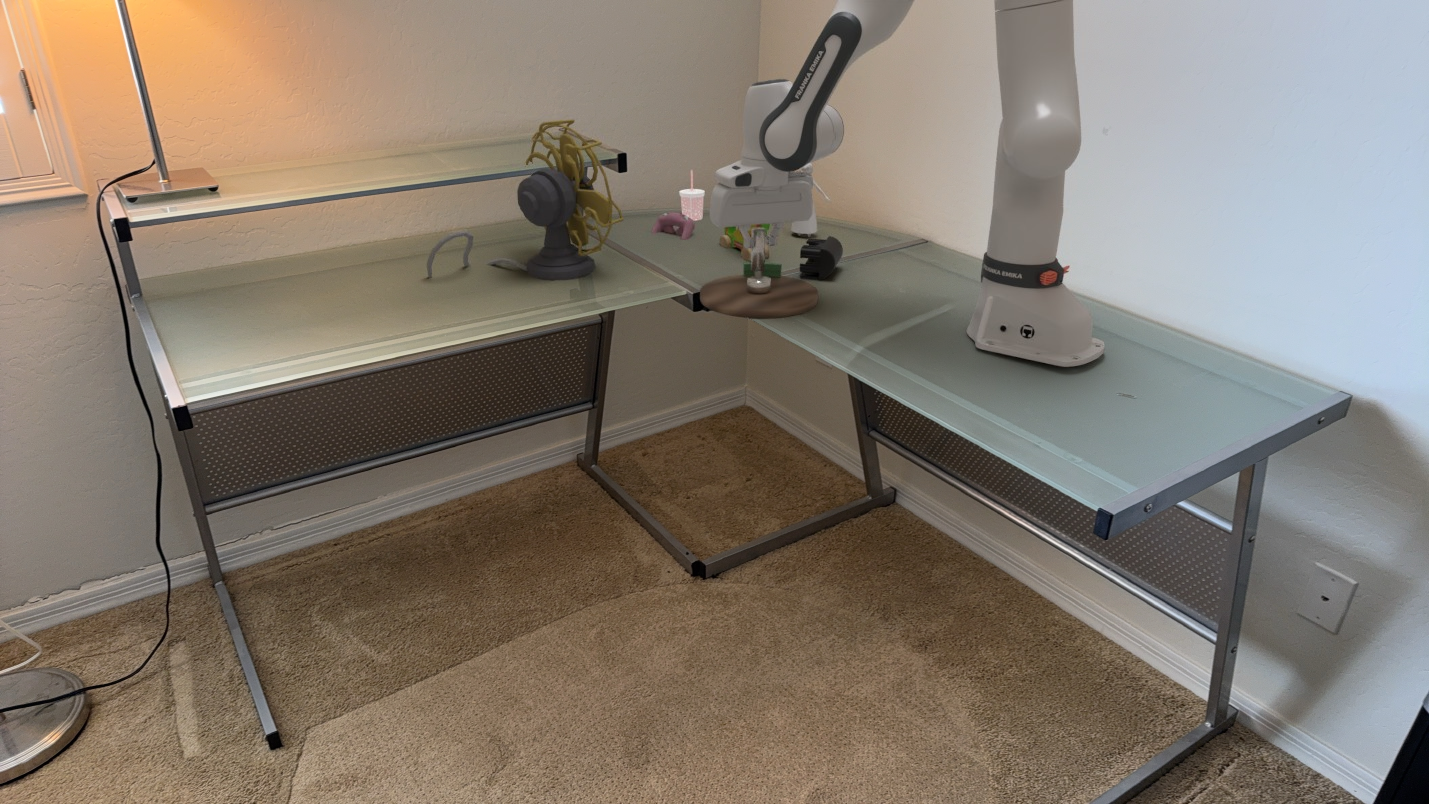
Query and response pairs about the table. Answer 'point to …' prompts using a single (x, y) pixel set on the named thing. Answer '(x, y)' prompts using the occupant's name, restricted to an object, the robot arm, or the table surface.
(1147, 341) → the table surface
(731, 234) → the toy lion
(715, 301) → the dial plate
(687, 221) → the video game controller
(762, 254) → the metal lever handle
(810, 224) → the woman figurine
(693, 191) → the beverage cup
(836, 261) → the end cap
